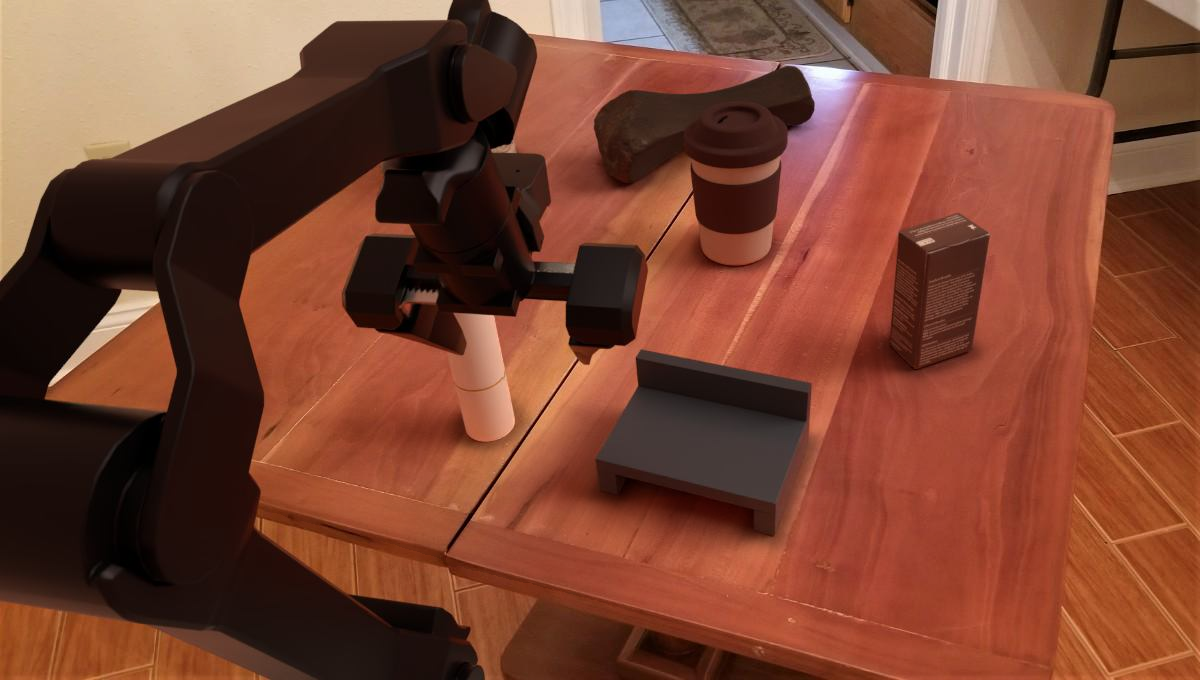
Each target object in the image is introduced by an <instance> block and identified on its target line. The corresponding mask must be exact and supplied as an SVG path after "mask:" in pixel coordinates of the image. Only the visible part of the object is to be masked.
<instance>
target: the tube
mask: <svg viewBox="0 0 1200 680" xmlns="http://www.w3.org/2000/svg"><path fill="white" fill-rule="evenodd" d="M454 315H455V317H456V319H457V321H458V323H459V324H460V326H461V328H462V331H463V333H464V336H465V339H466V342H467V345H466V349H465V352H464V355H456V354H453V353H450V352H447V351H445V352H446V353H445V354H446V356H447V360H448V365H449V368H450V369H449V370H450V371H451V376H452V380H453V384H454V388H455V392H456V397H457V400H458V404H459V408H460V409H459V410H460V413H461V417H462V421H463V425H464V429H465V432H466V434H467V436H468V437H469V438H471V439H473V440H475V441H478V442H485V443H486V442H487V443H488V442H494V441H497V440H500V439H503V438H504V437H506V436H508V434H509V433H511V432H512V431H513V429H514V427H515V424H516V417H515V413H514V412H515V411H514V408H513V403H512V398H511V394H510V389H509V383H508V377H507V373H506V369H505V363H504V359H503V354H502V349H501V343H500V339H499V334H498V328H497V323H496V319H495V315H479V314H464V313H454Z"/></svg>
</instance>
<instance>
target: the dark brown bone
mask: <svg viewBox="0 0 1200 680" xmlns="http://www.w3.org/2000/svg"><path fill="white" fill-rule="evenodd" d="M736 101H743V102H751V103H756V104H759V105H762V106H764V107H765V108H767V109H768V110H769V111H770V113H771V115H773V116H776V117H778V118H779V119H780V120H782V121H783V122H784V123H785V125H786V126H800V125H802V124H804V123H805V124H806V122H808V121H809V120H811V118H812V116H813V115H814V112H815V109H816V108H815V106H816V104H815V100H814V98H813V94H812V90H811V87H810V85H809V82H808V80H807V79H806V77H805V75H804V73H803V72H802V70H801V69H800V68H799V67H798V66H796V65H795V66H794V65H785V66H782V67H780V68H777V69H774V70H773V71H772V70H771V71H770V72H768V73H764V74H763V75H760V76H758V77H756V78H753V79H751V80H750V79H749V80H747V81H745V82H742V83H739V84H736V85H733V86H730V87H729V86H728V87H726V88H722V89H716V90H711V91H707V92H706V91H705V92H698V93H697V92H696V93H667V92H657V91H649V90H639V89H630V90H629V89H628V90H626V91H624V92H622V93H620V94H618V95H617V96H616V97H614V98H613V99H610V100H608V101H607V102H606V103H605V104H604V105H603V106H602V107H600V109H599V110H598V111H597V114H596V115H595V117H594V119H593V123H594V124H593V132H594V134H595V138H596V141H597V146H598V150H599V154H600V156H601V158H602V163H603V166H604V168H605V170H606V171H607V174H609V176H611V177H612V178H613V179H615V180H617V181H619V182H621V183H623V184H628V185H629V184H633V183H635V182H637V181H639V180H640V179H642V178H643V177H645V176H646V175H648V174H649V173H650V172H651V171H652V170H654V169H656V168H657V167H658V166H660V165H661V164H662V163H664V162H665V161H668V159H669V158H671V157H673V156H675V155H676V154H677V153H679V152H681V151H682V150H683V151H684V150H685V148H684V132H685V129H686V128H687V126H688V125H689V124H690V123H691V122H693V121H694V120H696V119H697V118H700V115H701V114H702V113H703V112H704V111H705V110H706V109H708V108H710V107H711V106H714V105H717V104H720V103H725V102H736Z"/></svg>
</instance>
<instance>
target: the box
mask: <svg viewBox="0 0 1200 680" xmlns="http://www.w3.org/2000/svg"><path fill="white" fill-rule="evenodd" d="M990 237H991V233H990V232H989V231H988V230H986V229H985V228H983V227H981V226H980V225H978V224H977V223H975V222H973V220H971V219H969V218H968V217H966V216H965V215H963V214H962V213H960V212H956V213H953V214H949V215H946V216H943V217H940V218H937V219H933V220H929V221H927V222H923V223H920V224H917V225H914V226H910V227H907V228H903V229H899V230H898V239H897V249H896V250H897V251H896V263H895V275H894V285H893V296H892V307H891V309H892V310H891V318H890V331H889V342H888V343H889V346H891V347H892V349H893V350H894V351H895V352H897V354H898V355H899V356H900V357H901V358H902V359H903V360H904V361H906V362H907V364H909V366H911V367H913V369H915V370H917V369H920V368H924V367H927V366H929V365H932V364H935V363H938V362H941V361H944V360H948V359H949V358H953V357H956V356H958V355H961V354H964V353H968V352H971V351H972V350H973V345H974V339H975V332H976V326H977V320H978V315H979V314H978V312H979V306H980V301H981V295H982V289H983V281H984V275H985V268H986V263H987V256H988V251H989V243H990Z"/></svg>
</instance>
